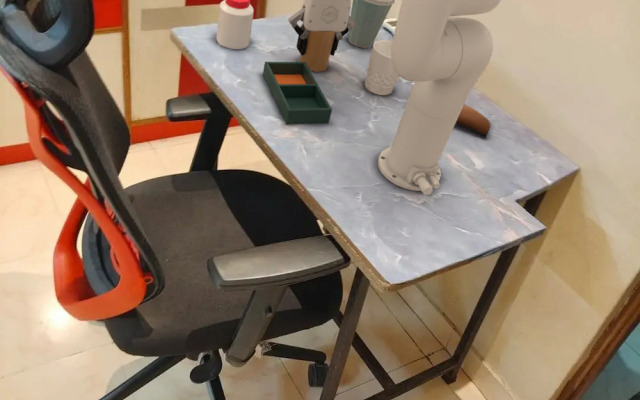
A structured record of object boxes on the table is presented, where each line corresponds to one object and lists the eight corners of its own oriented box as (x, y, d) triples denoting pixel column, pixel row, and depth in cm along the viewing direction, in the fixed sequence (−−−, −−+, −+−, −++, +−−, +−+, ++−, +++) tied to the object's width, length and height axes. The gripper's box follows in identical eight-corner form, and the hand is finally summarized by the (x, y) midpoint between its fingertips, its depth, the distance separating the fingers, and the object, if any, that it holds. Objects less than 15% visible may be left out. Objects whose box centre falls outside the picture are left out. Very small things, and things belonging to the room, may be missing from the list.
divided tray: (302, 75, 134) (305, 61, 132) (328, 123, 122) (332, 109, 120) (262, 75, 131) (264, 61, 129) (285, 124, 119) (288, 110, 117)
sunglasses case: (490, 119, 136) (499, 105, 130) (481, 144, 134) (489, 132, 128) (416, 92, 138) (421, 77, 132) (406, 117, 136) (411, 103, 130)
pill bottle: (219, 30, 142) (224, -15, 135) (251, 36, 143) (257, -7, 135) (213, 44, 136) (217, -1, 129) (246, 52, 137) (252, 7, 130)
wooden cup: (330, 71, 138) (340, 33, 132) (304, 71, 136) (312, 32, 129) (321, 56, 143) (330, 18, 136) (295, 56, 140) (303, 17, 134)
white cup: (395, 83, 141) (407, 45, 134) (394, 100, 135) (407, 61, 128) (363, 75, 140) (374, 37, 134) (360, 92, 134) (372, 53, 128)
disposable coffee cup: (337, 29, 155) (351, -27, 145) (375, 34, 158) (392, -21, 148) (344, 50, 148) (359, -8, 138) (385, 54, 150) (402, -2, 140)
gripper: (299, -17, 120) (284, 60, 131) (375, -12, 126) (355, 61, 138) (288, -33, 125) (275, 43, 136) (362, -28, 131) (344, 45, 143)
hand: (315, 51), depth 137 cm, fingers closed on wooden cup, 6 cm apart
